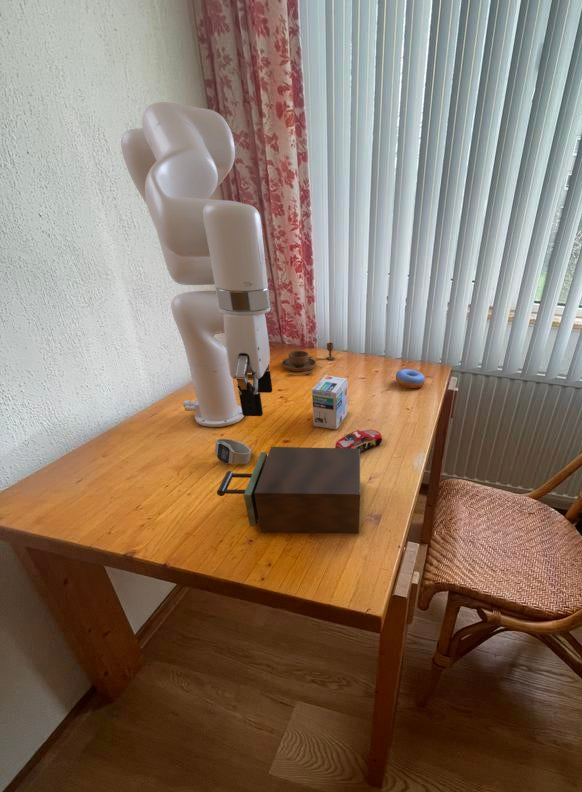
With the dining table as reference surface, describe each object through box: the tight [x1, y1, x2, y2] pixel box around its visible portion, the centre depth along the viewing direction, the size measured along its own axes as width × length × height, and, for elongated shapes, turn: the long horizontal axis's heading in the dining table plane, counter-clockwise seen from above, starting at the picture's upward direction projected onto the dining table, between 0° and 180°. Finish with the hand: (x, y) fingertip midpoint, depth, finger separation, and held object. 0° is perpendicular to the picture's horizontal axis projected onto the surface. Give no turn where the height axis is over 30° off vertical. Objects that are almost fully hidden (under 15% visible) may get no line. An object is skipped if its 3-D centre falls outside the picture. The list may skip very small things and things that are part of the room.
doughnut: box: [395, 368, 426, 389], centre depth 130 cm, size 10×10×5 cm
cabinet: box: [254, 446, 361, 534], centre depth 74 cm, size 18×15×9 cm
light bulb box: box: [311, 375, 348, 430], centre depth 104 cm, size 11×7×11 cm, turn 168°
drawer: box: [216, 451, 268, 528], centre depth 73 cm, size 23×14×7 cm, turn 93°
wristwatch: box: [214, 438, 252, 466], centre depth 87 cm, size 9×6×5 cm
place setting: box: [281, 342, 335, 376], centre depth 138 cm, size 18×20×6 cm
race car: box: [334, 429, 383, 453], centre depth 95 cm, size 13×5×4 cm, turn 133°
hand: (258, 403), depth 68 cm, fingers open, 9 cm apart
